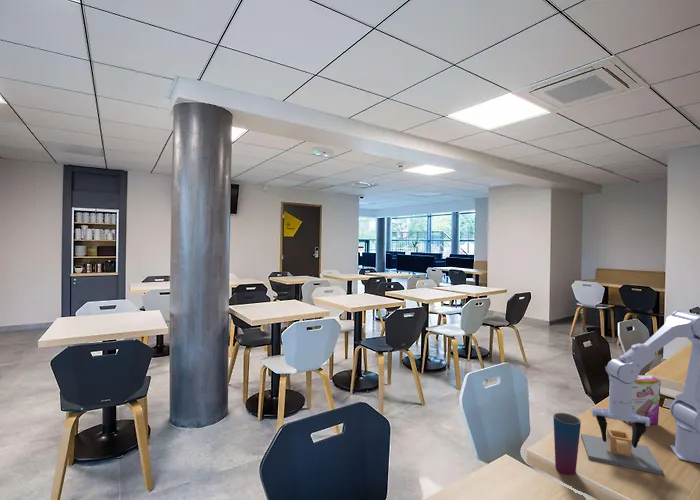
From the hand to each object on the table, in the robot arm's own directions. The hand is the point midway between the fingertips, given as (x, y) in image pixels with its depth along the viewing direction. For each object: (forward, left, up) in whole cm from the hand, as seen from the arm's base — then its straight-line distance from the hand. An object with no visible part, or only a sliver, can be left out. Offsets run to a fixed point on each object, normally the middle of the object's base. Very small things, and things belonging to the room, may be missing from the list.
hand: (618, 443), depth 116 cm
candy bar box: (-12, -28, -4) cm, 31 cm away
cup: (+16, +16, -4) cm, 23 cm away
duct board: (0, 0, -3) cm, 3 cm away
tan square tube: (0, +2, -2) cm, 3 cm away
